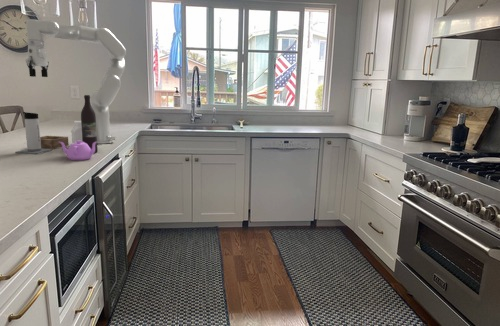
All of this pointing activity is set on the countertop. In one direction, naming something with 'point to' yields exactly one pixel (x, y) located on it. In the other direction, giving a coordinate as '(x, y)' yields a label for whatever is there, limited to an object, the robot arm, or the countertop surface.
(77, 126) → the jar
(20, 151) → the mat
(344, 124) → the countertop surface
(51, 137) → the collar
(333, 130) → the countertop surface
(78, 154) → the teapot
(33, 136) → the travel mug
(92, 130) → the wine bottle
